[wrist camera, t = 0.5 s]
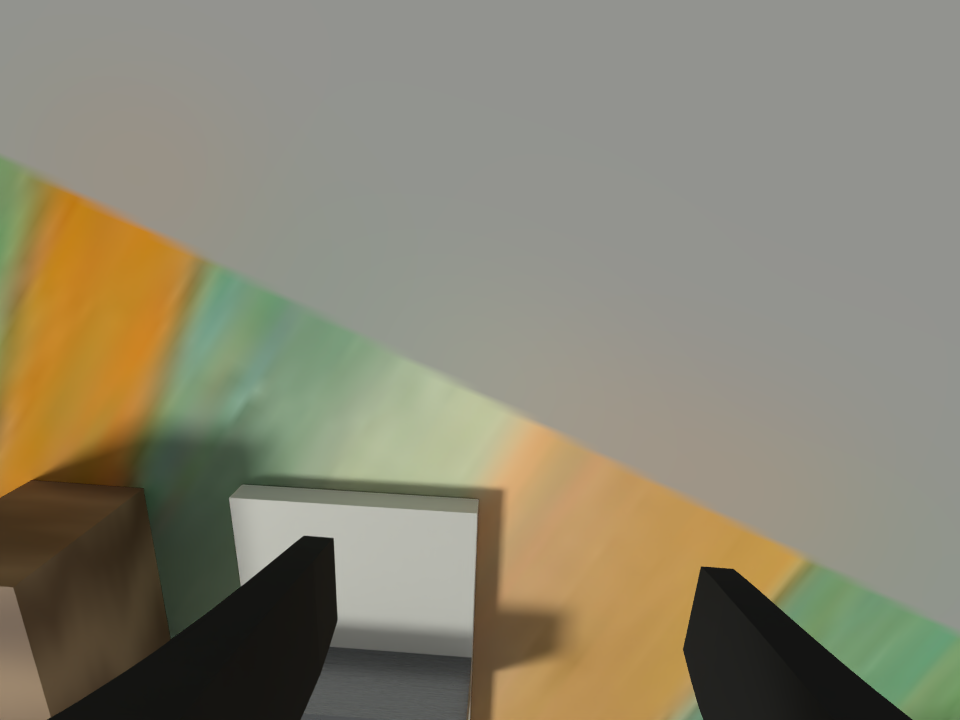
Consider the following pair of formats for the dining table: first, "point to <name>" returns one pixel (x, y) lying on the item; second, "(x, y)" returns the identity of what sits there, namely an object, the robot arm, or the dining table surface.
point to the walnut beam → (73, 593)
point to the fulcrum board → (379, 594)
